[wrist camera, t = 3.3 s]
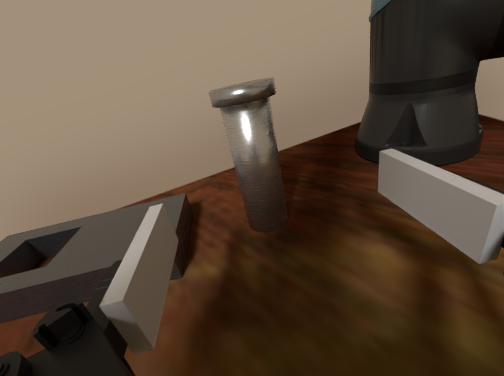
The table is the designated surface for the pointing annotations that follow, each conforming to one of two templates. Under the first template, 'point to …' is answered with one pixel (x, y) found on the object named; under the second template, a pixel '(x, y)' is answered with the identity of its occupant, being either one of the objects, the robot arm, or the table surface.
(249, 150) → the silver metal peg
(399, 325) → the table surface
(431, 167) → the robot arm
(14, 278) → the jig
